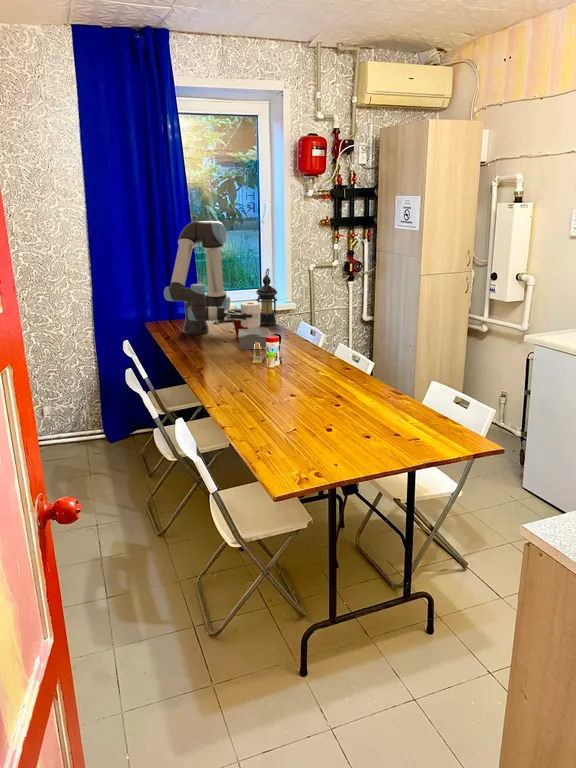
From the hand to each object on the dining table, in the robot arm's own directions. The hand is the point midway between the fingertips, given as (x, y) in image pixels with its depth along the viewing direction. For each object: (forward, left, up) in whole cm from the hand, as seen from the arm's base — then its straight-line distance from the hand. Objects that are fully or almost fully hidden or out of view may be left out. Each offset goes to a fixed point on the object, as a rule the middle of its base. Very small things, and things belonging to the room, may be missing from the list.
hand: (258, 313), depth 322 cm
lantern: (-51, +6, -18) cm, 55 cm away
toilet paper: (0, -4, -7) cm, 8 cm away
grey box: (-1, -3, -18) cm, 18 cm away
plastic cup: (-21, -10, -18) cm, 30 cm away
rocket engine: (-63, -22, -18) cm, 69 cm away
